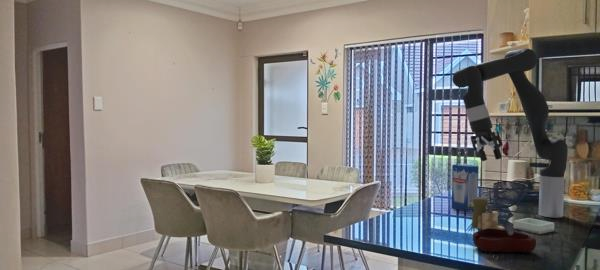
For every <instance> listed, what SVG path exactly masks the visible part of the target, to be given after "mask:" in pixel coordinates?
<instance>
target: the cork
mask: <svg viewBox="0 0 600 270" xmlns="http://www.w3.org/2000/svg"><path fill="white" fill-rule="evenodd" d="M473 204H474V211H472V212H473V213H472V218H471V224H470V226H471V227H473V228H477V229H478V216H479V215H481V216H482V213H487V208H486V207H488V200H487V198H484V197H480V196H478V197H477V198H474V199H473Z"/></svg>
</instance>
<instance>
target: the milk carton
mask: <svg viewBox="0 0 600 270" xmlns="http://www.w3.org/2000/svg"><path fill="white" fill-rule="evenodd" d="M479 168H480V167H479V165H471V164H463V163H461V164H458V163H457V164H452V171H451V172H452V173H451V204H450V206H451V207H450V208H452V209H457V210H460V211H464V210H465V212H471V211H470V210H474V204H473V199H474V198H477V197H479V196H478V195H479Z"/></svg>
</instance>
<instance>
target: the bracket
mask: <svg viewBox="0 0 600 270" xmlns="http://www.w3.org/2000/svg"><path fill="white" fill-rule="evenodd" d="M493 207H494V206H493V204H489V203H487V212H486V213H482V216H481V215H479V216H478V228H477V230H479V231H480V230H483V229H486V228H493V229H500V230H506V228H505V226H502V225H498V223H499V220H498V219H499V218H498V217H499V212H498V211H496V210H495V211H494V209H493Z"/></svg>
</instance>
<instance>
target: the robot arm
mask: <svg viewBox="0 0 600 270" xmlns="http://www.w3.org/2000/svg"><path fill="white" fill-rule="evenodd" d="M537 63H538V56H537V53H536V51H534V50H533V49H531V48H520V49H515V50H510V51H507V52H506V53H505V54H504V57H503V58H497V59H492V60H487V61H484V62H480V63H478V64H476V65H468V66H465V67H463V68H461V69H458V70H456V71H455V72H454V73H453V75H452V83H453V84H454V85H455V86H456V87H457V88H460V89H461V88H462V89H464V88H467V92H466V93H464V94H463V95H462V100H463V105H464V107H465V109H466V110H465V111H466V115H467V119H468V123H469V127H470V129H471V133H472V134H473V135H470V137H469V138H470V141H471V144H472V148H473V151H474V152H477V153H478V155H479V158H480V161H481V162H486V161H487V160H488V158H487V154H486V150H485V147H486V145H487V146H488V147H491V148H490V149H492V151H493V155H494V159H495V160H500V159H502V153H501V150H500V149H501V148H500V147H503V142H502V138H501V134H500V133H499V131H498V129H497V130H493V131H492V129H493V127H494V126H493V123H492V119H491V117H490V113H489V111H488V108H487V106H486V102H485V100H484V96H483V84H482V83H483V82H485V81H488V80H492V79H495V78H498V77H501V76H504V75H507V74H508V76H509V78H510V80H511V82H512V83H513V86H514V88H515V91H516V93H517V95H518V98H519V101H520V104H521V107H522V110H523V113H524V115H525V118H526V120H527V123H528V125H529V129H530V132H531V136H532V139H533V144H534V147H535V152H536V154H537V156H538V157H539V158H540V159H542V160H546V161H550V162H549V165H548V166H546V167H542V168H540V170H539V190H538V191H539V193H538V195H539V196H538V216H540V217H545V218H546V217H547V218H554V219H557V218H558V219H559V218H563V217H564V202H565V198H564V197H565V194H564V193H565V191H564V190H565V188H564V187H565V173H566V170H567V164H568V163H567V162H568V152H569V150H568V144H567V142H566V141H565V140H564V139H560V138H549V136H548V134H547V131H546V130H547V129H546V124H547V121H548V118H549V113H550V109H549V106H548V102H547V100H546V97H545V95H544V94H543V92H541V90H540V89H539V88H538V87H536V86H535V85H534V84H533V83H532V82H531V81H530V80H529V78H528V77H527V75H526V73H525V72H528V71H531V70H533V69H534V68H535V67H536V65H537ZM497 141H498V142H497Z"/></svg>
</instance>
